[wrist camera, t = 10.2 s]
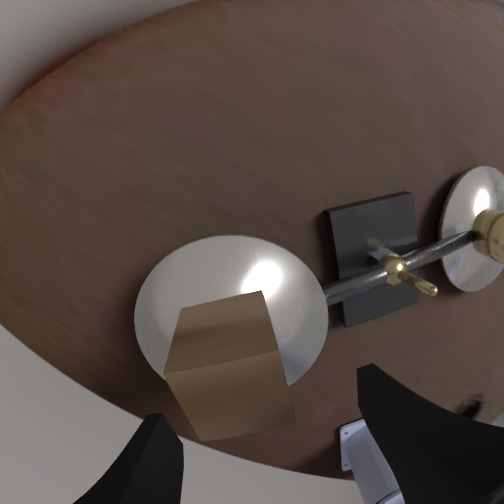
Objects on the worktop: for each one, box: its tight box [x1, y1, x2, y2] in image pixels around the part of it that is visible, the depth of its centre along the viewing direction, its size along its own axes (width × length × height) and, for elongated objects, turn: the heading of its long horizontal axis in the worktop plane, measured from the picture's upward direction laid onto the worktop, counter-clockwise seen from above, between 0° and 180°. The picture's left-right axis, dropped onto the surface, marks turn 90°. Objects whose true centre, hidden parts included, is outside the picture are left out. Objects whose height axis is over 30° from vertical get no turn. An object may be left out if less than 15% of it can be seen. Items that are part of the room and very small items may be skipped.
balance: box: [134, 166, 504, 386], centre depth 16 cm, size 10×30×6 cm, turn 104°
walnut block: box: [163, 289, 297, 441], centre depth 12 cm, size 4×4×5 cm
